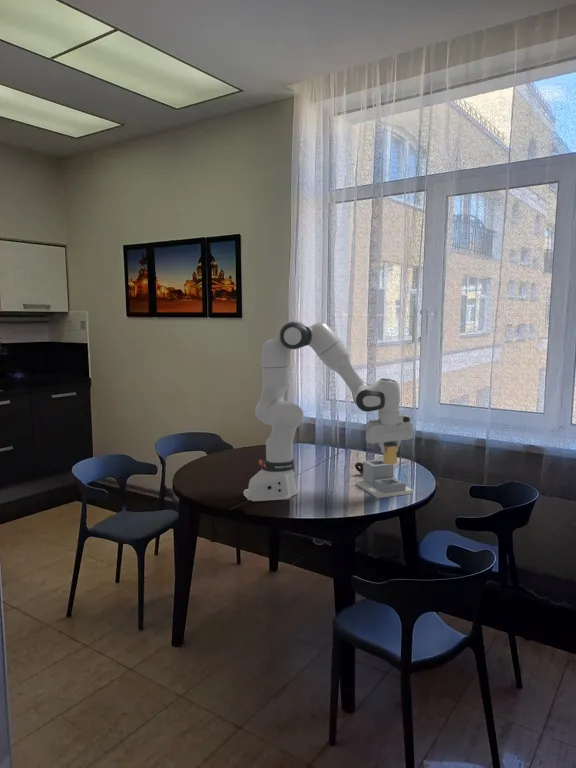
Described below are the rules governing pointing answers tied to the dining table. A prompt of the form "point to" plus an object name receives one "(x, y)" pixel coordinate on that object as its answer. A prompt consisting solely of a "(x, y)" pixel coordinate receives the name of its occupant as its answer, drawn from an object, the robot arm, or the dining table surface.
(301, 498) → the dining table surface
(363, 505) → the dining table surface
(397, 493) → the square socket stand
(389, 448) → the plug
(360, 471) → the pottery mug
